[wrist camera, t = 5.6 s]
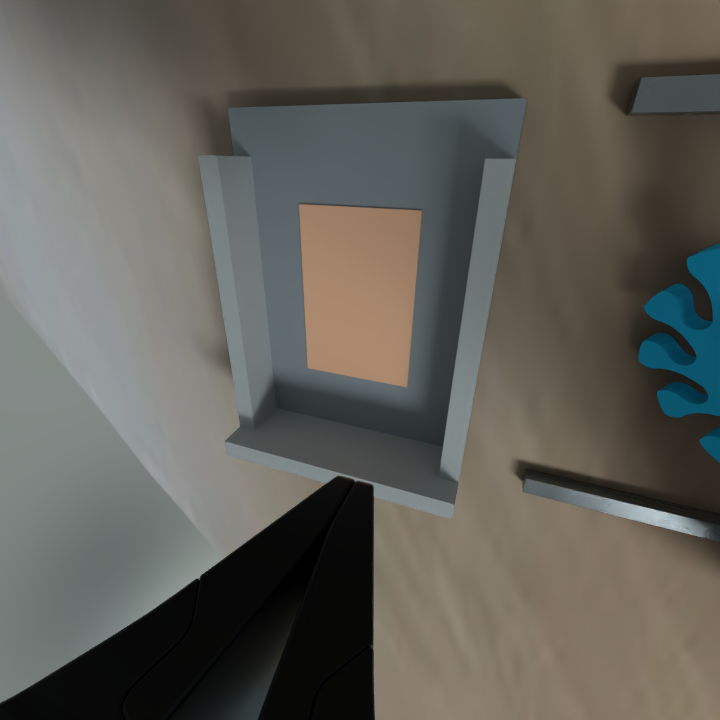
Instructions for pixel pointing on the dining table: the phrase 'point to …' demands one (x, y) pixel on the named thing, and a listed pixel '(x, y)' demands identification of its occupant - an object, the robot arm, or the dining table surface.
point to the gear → (708, 339)
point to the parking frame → (646, 100)
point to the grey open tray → (360, 284)
